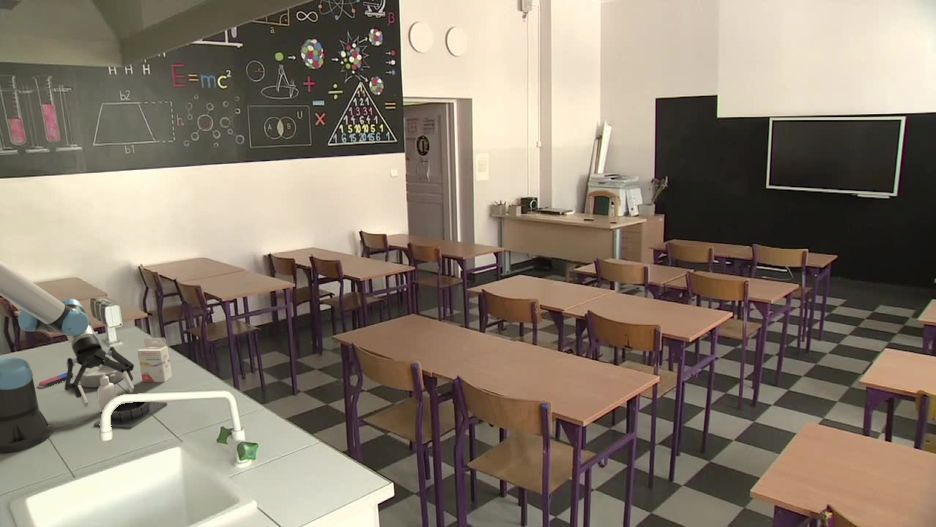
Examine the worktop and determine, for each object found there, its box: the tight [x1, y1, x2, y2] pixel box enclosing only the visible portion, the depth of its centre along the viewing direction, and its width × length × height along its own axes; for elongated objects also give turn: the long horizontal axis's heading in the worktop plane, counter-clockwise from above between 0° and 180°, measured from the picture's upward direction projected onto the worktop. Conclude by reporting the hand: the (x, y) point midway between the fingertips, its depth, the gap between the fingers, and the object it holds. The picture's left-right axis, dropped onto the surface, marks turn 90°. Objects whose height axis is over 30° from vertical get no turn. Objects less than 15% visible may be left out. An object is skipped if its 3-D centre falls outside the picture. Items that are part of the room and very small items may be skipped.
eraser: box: [37, 372, 74, 389], centre depth 232 cm, size 11×4×2 cm, turn 147°
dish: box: [74, 361, 124, 388], centre depth 230 cm, size 14×14×5 cm
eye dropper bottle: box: [97, 373, 117, 413], centre depth 205 cm, size 4×6×12 cm
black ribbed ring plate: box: [93, 401, 168, 429], centre depth 201 cm, size 16×13×3 cm
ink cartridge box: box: [137, 337, 173, 383], centre depth 228 cm, size 9×5×15 cm, turn 84°
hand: (110, 397), depth 204 cm, fingers open, 13 cm apart
